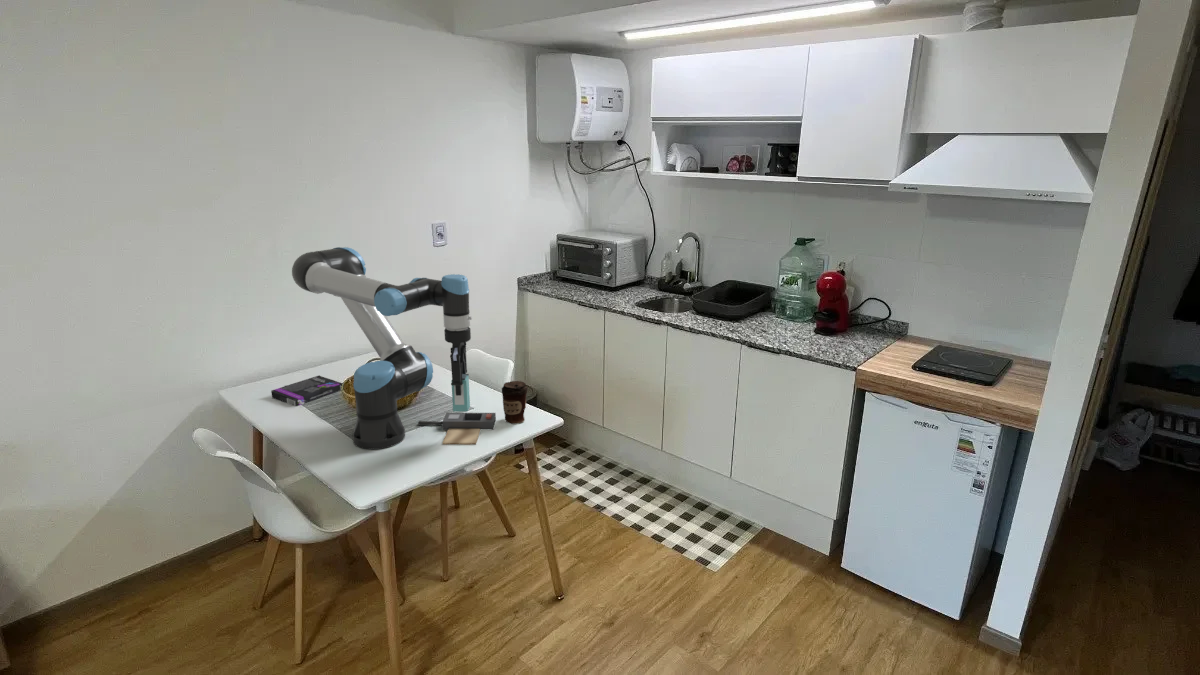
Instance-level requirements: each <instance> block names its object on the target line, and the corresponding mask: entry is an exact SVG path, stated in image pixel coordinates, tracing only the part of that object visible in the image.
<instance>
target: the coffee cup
mask: <svg viewBox="0 0 1200 675" xmlns="http://www.w3.org/2000/svg"><path fill="white" fill-rule="evenodd" d="M527 393H528V386H527V384H526V382H524V381H521V380H520V381H519V380H512V381H507V382H504V383H503V386H502V387H501V396H502V406H503V412H504V421H505V423H508V424H511V425H516V424H522V423H524V422H525V420H526V419H525V416H524V414H525V410H526V407H527Z"/></svg>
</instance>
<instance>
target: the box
mask: <svg viewBox="0 0 1200 675" xmlns="http://www.w3.org/2000/svg"><path fill="white" fill-rule="evenodd" d="M342 384H343V385H344V383H343V382H341V381H340V382H339V381H338V380H337V381H336V380H334V379H331V378H327V377H325V376H322V375H316V376H313V377H310V378H306V379H304V380H300V381H297V382H294V383H290V384H288V385H284V386H282V387H278V388H274V389H271V392H270V393H271V399H274V400H276V401H279V402H282V403H285V404H288V405H291V406H294V407H298V406H299V407H300V406H302V405H304V404H308V403H310V402H312V401H315V400H318V399H321V398H323V397H326V396H330V395H332V394H335V393H337V392H340V391H342V390H341V386H342Z"/></svg>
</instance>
